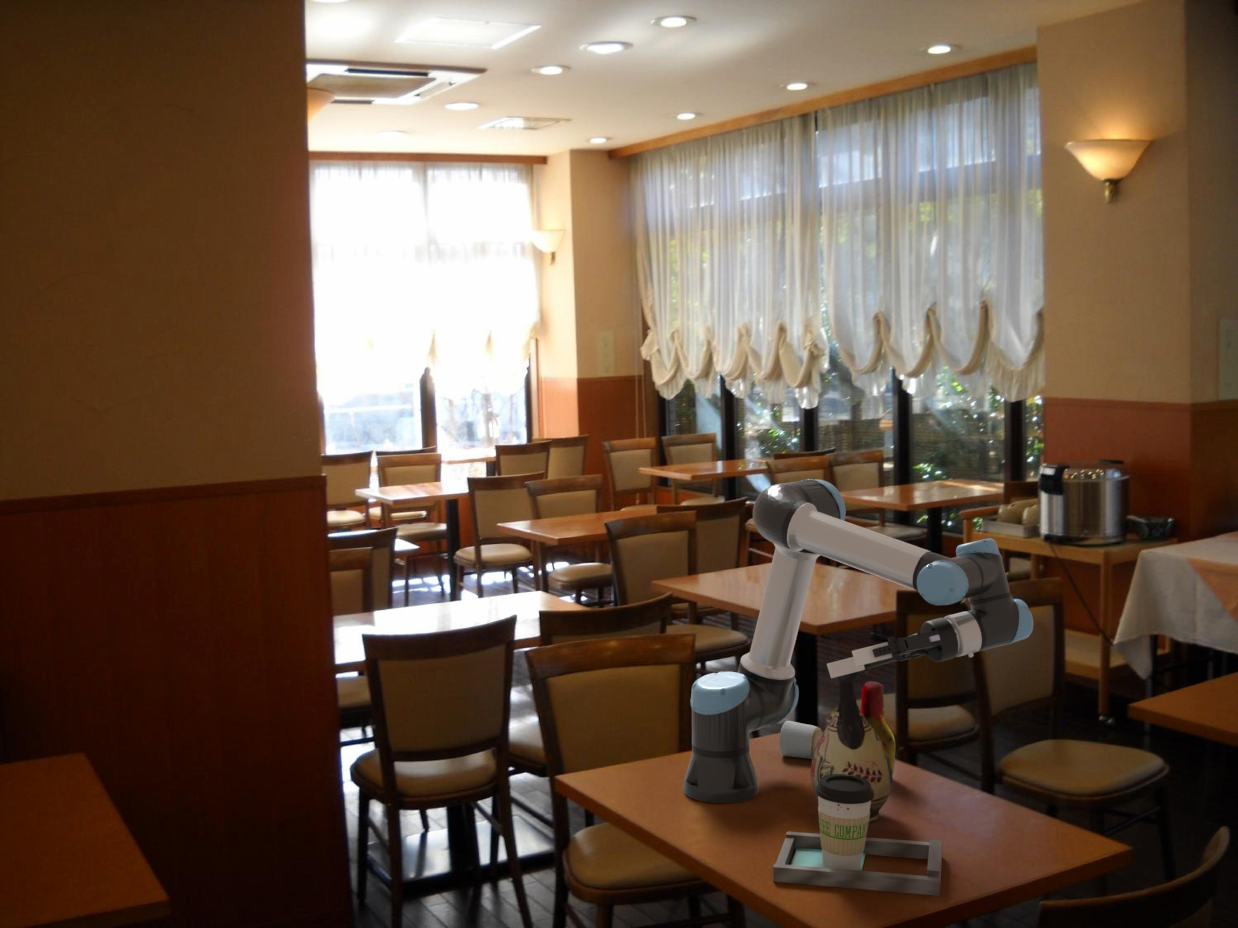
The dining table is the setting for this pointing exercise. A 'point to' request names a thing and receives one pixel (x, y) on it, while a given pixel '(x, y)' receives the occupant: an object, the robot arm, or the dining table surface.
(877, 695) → the bottle
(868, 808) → the coffee cup
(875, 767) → the ceramic jug
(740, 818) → the dining table surface
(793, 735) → the ceramic mug
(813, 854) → the bay
